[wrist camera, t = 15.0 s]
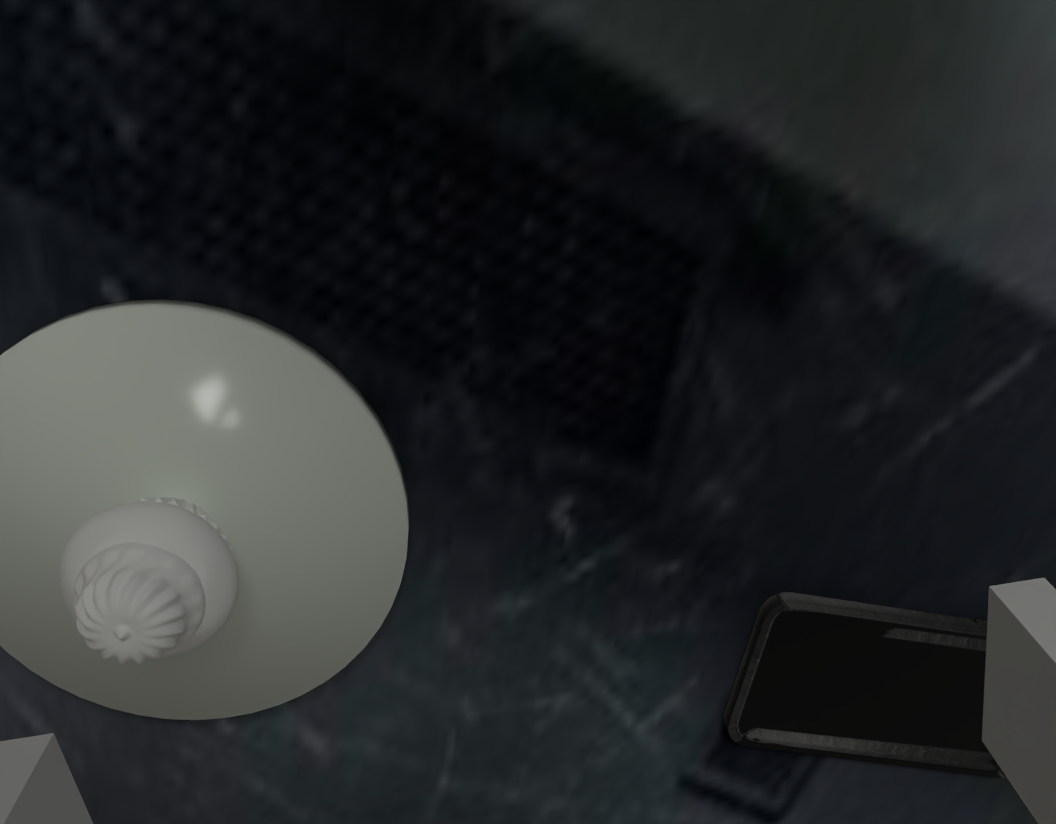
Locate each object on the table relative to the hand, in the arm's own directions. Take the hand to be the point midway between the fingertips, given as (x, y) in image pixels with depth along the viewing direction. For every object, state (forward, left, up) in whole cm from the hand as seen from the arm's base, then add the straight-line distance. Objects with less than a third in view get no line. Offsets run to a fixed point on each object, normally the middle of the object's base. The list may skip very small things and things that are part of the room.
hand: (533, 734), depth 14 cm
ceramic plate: (-1, -15, -25) cm, 29 cm away
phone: (+27, +1, -25) cm, 37 cm away
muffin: (-1, -15, -24) cm, 28 cm away
